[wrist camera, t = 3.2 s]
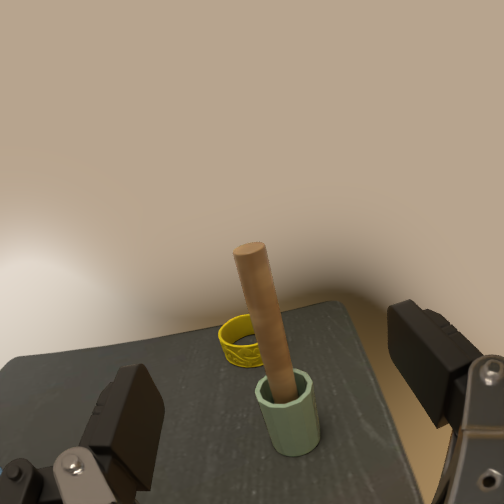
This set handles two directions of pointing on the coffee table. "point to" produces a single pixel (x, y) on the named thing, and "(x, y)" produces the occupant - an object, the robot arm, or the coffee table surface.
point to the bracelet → (235, 353)
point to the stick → (266, 319)
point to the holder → (291, 417)
